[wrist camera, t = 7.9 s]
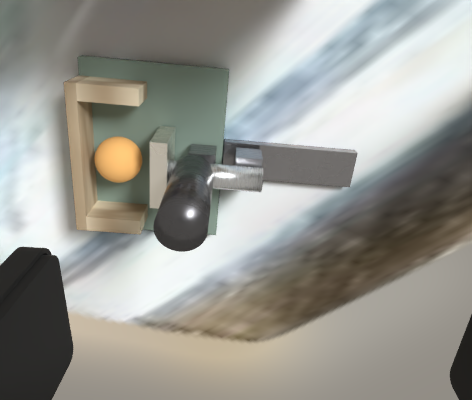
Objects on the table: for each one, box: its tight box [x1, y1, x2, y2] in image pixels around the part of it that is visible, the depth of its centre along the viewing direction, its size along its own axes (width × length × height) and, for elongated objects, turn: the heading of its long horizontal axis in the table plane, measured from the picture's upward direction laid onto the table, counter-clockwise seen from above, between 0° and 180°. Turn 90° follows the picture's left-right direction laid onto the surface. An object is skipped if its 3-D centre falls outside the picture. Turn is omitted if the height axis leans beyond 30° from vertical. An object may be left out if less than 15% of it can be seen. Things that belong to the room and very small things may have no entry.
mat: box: [78, 55, 229, 235], centre depth 33 cm, size 11×14×1 cm
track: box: [223, 139, 357, 187], centre depth 34 cm, size 11×3×1 cm, turn 85°
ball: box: [94, 136, 142, 183], centre depth 31 cm, size 4×4×4 cm
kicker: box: [150, 126, 263, 251], centre depth 27 cm, size 8×5×11 cm, turn 85°
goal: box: [64, 75, 148, 234], centre depth 31 cm, size 5×11×3 cm, turn 175°
